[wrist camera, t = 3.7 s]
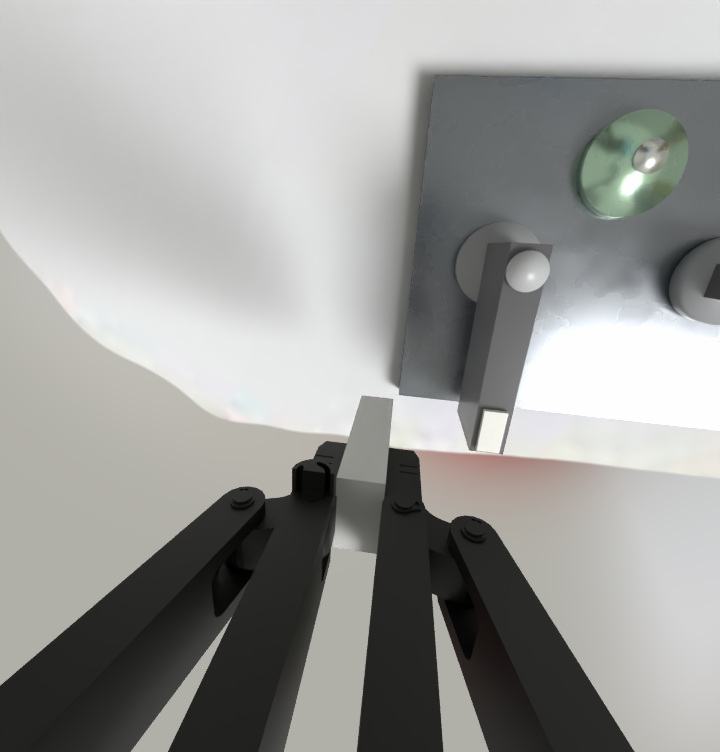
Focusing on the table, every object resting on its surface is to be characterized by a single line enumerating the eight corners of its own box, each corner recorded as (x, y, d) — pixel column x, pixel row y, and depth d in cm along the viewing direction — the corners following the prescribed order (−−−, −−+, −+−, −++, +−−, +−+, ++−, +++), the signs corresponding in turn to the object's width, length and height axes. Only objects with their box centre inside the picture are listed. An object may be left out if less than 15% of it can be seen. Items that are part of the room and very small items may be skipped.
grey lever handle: (461, 220, 21) (483, 209, 15) (544, 225, 21) (601, 216, 15) (434, 401, 25) (442, 449, 19) (502, 409, 25) (532, 461, 19)
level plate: (399, 388, 27) (398, 400, 25) (433, 84, 20) (436, 66, 18) (711, 422, 25) (739, 438, 23) (865, 94, 18) (924, 75, 16)
